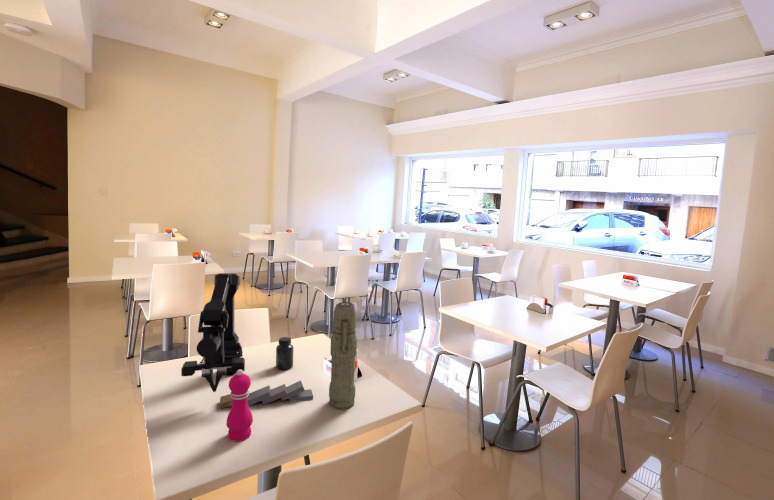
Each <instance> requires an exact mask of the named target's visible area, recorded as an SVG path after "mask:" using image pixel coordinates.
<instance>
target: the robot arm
mask: <svg viewBox="0 0 774 500" xmlns="http://www.w3.org/2000/svg"><path fill="white" fill-rule="evenodd" d="M213 282H214V283H213V284H214V287H213V292H212V293H211V297H210V301H208V302H207V303H205V304H204V307H203V309H202V310H201V312H200V315H199V322H198V327H197V328H198V329H197V333H198V334H199V333H200V334H201V333H202V338H201V339H200V340H199V342H198V343H197V345H196V352H197V354H198V355H199V356H200V357H202V358H203V357H205V362H204V363H198V361H197V360H190V361H185V362H184V363H182V366H181V371H180V372H181V373H180V376H181V377H192V376H193V375H195V374H196V371H201V376H200V377H201V378H205V380H206V381H207V383H208V384H209V386H210V389H211V391H212V393H216V392H217V389H218V386H219V383H220V381H221V379H222V377H223V376H231V377H233V376H234V375H236V374H237V371H238V370H239V369H241V370H243V372H244V371H245V368H246V359H245V358H244V357H243V356H244V354H243V353H244V352H243V346H242V345H241V343H240V337H239V336H238V334H237V333H236V332H235V295H236V293H237V291H238V290H239V287H240V285H241V276H240V275H238V273H233V272H231V273H227V272H226V273H221V272H220V273H218V274H215V275H214V281H213ZM214 370H216V374H215V380H214Z"/></svg>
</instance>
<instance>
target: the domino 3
mask: <svg viewBox="0 0 774 500" xmlns="http://www.w3.org/2000/svg"><path fill="white" fill-rule="evenodd" d="M286 387H287V386H286V383H283V384H282V385H279V386H277V387H273V388H270V389H271V397H269V398H266V399H264V400H261V401H262V404H263V405H266V404H269V403H271V402H274V401H276V400H279V399H281V397H283V396H286V395H287V388H286Z"/></svg>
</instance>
